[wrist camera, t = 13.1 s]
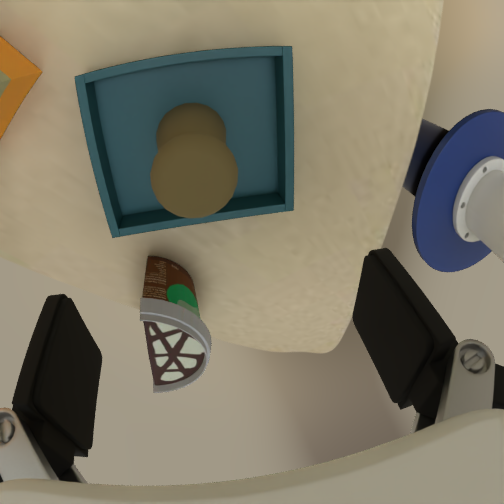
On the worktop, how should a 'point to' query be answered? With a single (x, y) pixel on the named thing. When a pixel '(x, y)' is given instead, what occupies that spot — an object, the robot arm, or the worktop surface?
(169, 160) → the olive tapered rounded piece
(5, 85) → the orange juice
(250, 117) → the tray
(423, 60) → the worktop surface
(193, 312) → the food container
